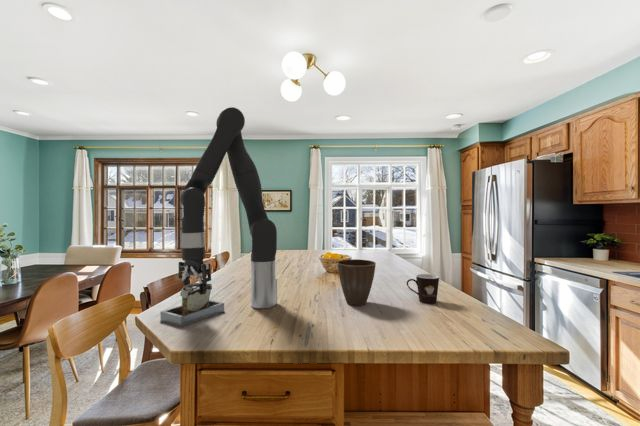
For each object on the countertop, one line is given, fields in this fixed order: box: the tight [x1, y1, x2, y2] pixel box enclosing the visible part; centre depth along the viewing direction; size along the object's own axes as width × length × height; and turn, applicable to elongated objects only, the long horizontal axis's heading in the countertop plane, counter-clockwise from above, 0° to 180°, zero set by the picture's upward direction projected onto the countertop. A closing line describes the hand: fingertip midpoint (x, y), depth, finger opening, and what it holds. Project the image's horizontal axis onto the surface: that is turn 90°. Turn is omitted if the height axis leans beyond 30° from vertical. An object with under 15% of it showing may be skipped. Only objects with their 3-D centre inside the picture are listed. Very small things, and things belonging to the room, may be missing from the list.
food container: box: [179, 282, 213, 316], centre depth 102 cm, size 12×6×10 cm, turn 160°
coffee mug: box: [406, 273, 440, 305], centre depth 118 cm, size 12×9×10 cm
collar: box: [160, 299, 225, 328], centre depth 102 cm, size 17×11×3 cm, turn 149°
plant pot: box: [336, 258, 377, 307], centre depth 115 cm, size 15×15×16 cm
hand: (194, 292), depth 102 cm, fingers open, 8 cm apart
